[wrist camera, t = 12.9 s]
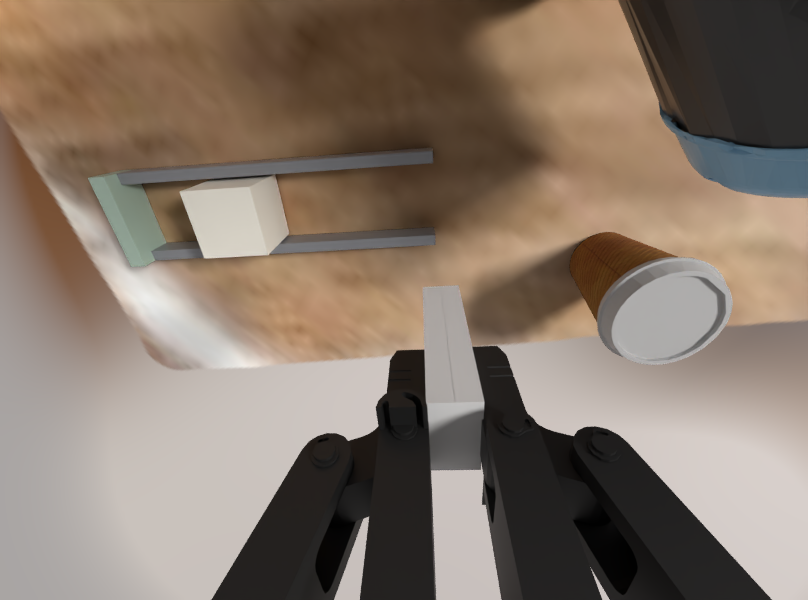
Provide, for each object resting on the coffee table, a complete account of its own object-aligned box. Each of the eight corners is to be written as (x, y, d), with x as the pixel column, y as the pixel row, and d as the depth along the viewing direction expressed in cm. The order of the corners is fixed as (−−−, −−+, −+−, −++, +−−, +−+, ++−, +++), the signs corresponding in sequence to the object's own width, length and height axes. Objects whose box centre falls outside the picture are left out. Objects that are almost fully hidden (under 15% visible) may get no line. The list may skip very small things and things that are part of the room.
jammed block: (215, 177, 34) (179, 191, 29) (275, 173, 34) (249, 186, 29) (234, 236, 37) (204, 258, 32) (289, 233, 37) (268, 255, 32)
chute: (120, 170, 35) (87, 177, 31) (431, 147, 33) (433, 152, 29) (157, 252, 39) (131, 266, 35) (434, 236, 37) (436, 250, 33)
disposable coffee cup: (653, 280, 38) (741, 346, 28) (564, 310, 41) (615, 383, 30) (641, 200, 34) (739, 243, 24) (544, 239, 37) (594, 294, 26)
